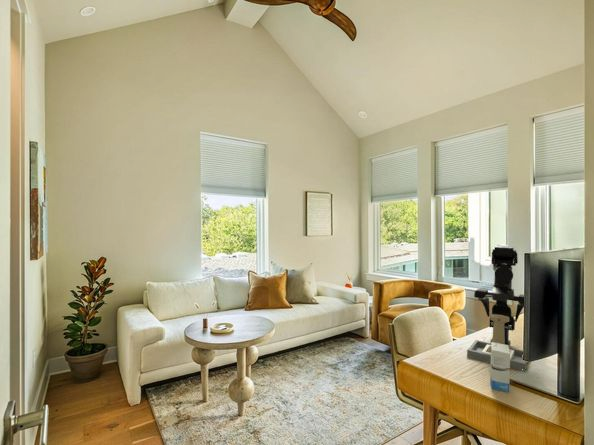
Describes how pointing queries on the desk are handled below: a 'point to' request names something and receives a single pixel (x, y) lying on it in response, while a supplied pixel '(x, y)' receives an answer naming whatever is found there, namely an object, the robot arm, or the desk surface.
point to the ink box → (500, 367)
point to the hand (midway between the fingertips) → (501, 319)
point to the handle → (498, 327)
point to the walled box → (484, 353)
